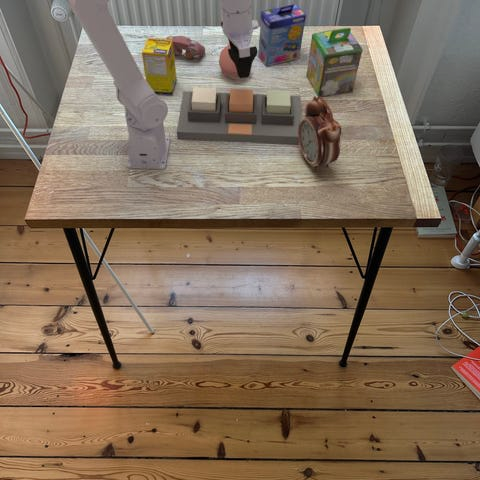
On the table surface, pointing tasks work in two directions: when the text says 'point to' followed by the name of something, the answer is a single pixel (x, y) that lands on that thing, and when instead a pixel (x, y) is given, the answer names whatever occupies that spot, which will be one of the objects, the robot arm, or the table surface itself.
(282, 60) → the blue cardboard box
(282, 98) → the sage button
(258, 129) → the control board
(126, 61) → the robot arm
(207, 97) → the cream button
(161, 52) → the supplement box
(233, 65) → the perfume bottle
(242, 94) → the terracotta button
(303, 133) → the alarm clock
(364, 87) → the table surface
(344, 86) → the chalk box
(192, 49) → the red toy car
